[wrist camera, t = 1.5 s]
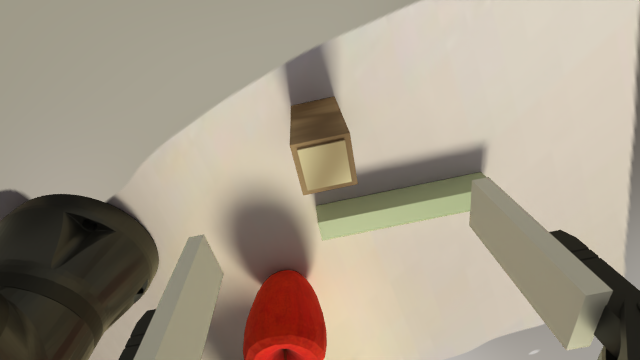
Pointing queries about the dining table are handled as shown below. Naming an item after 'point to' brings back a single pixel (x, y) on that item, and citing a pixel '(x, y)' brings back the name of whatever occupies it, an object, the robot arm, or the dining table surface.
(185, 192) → the dining table surface
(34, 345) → the robot arm
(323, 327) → the apple
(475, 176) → the rail
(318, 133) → the walnut block
